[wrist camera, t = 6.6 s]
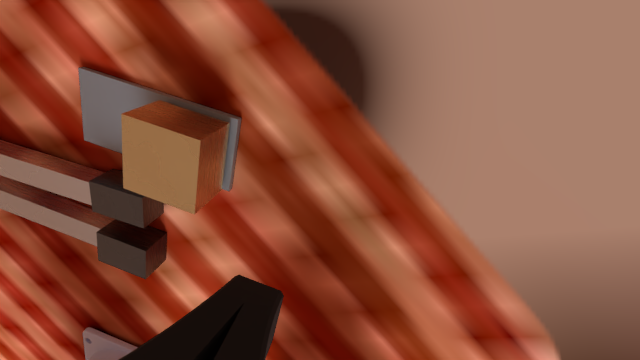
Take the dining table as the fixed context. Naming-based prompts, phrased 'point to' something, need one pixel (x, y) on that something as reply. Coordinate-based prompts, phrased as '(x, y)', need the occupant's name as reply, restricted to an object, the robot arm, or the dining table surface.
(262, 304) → the robot arm
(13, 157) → the tong arm
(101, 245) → the dark-tipped long bar
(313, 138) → the dining table surface
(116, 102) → the plate
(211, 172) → the block
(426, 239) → the dining table surface
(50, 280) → the dining table surface
